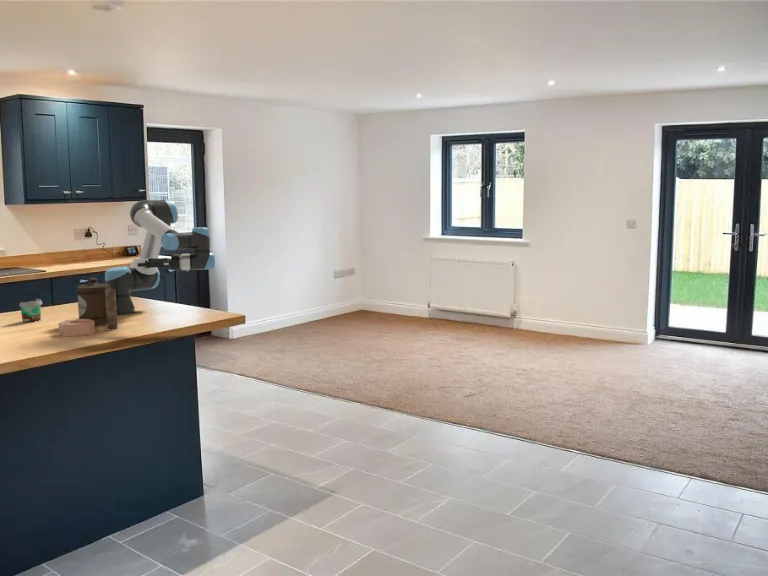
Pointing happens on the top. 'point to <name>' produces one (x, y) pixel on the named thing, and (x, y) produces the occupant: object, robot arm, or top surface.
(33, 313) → the food container
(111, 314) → the walnut dowel
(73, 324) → the terracotta bead
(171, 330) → the top surface
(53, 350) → the top surface
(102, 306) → the wooden container
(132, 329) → the top surface
